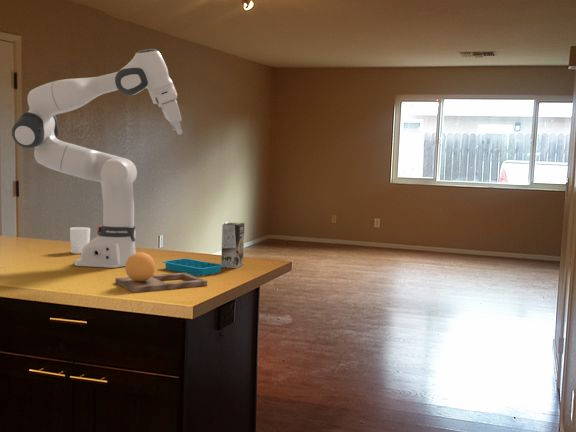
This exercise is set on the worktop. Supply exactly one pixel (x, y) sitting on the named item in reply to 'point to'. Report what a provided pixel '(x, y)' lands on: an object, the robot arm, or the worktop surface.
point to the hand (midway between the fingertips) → (178, 132)
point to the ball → (140, 267)
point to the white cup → (79, 238)
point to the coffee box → (232, 245)
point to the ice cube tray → (193, 266)
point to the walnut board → (157, 284)
